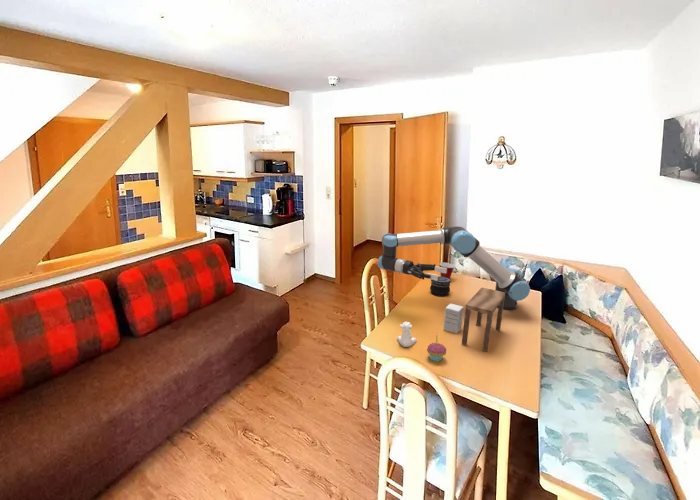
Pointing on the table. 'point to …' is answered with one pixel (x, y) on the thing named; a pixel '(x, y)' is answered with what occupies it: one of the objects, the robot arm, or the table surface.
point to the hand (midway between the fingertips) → (442, 274)
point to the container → (440, 286)
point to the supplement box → (453, 318)
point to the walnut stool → (486, 304)
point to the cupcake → (436, 350)
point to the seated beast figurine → (406, 335)
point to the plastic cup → (449, 269)
